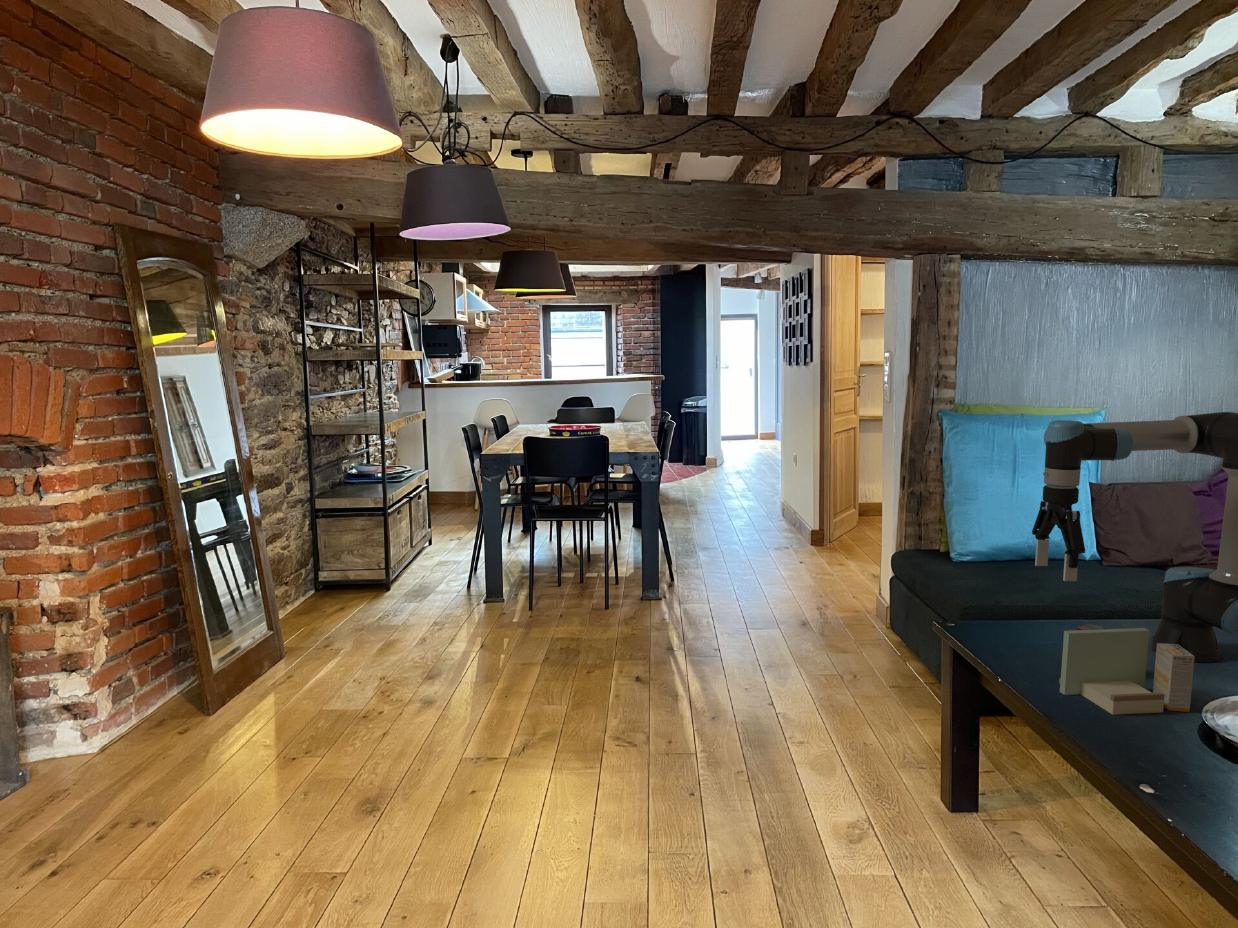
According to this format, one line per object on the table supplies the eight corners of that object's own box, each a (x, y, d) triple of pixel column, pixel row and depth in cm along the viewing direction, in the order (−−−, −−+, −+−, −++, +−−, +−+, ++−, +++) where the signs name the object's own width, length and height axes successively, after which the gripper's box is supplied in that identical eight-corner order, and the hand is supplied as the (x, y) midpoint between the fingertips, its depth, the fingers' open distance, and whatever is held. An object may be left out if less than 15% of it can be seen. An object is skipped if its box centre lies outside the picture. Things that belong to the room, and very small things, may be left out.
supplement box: (1191, 712, 184) (1196, 656, 183) (1167, 710, 185) (1172, 654, 184) (1174, 697, 192) (1179, 643, 191) (1151, 695, 193) (1156, 642, 192)
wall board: (1124, 680, 202) (1129, 621, 200) (1179, 711, 185) (1185, 647, 183) (1046, 683, 201) (1051, 623, 199) (1095, 715, 183) (1100, 650, 181)
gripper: (1020, 477, 208) (1015, 559, 211) (1072, 494, 184) (1066, 587, 186) (1050, 477, 208) (1045, 559, 211) (1106, 494, 183) (1099, 587, 186)
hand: (1055, 573), depth 199 cm, fingers open, 13 cm apart
